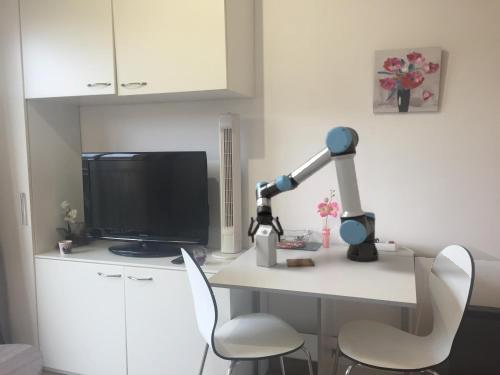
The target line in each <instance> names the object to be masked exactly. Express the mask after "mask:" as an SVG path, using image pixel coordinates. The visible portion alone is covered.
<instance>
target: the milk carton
mask: <svg viewBox="0 0 500 375" xmlns="http://www.w3.org/2000/svg"><path fill="white" fill-rule="evenodd" d="M255 235H256V250H255V261H256V262H255V264H256V266H260V267H265V268H271V267H272V266H275V265H276V264H277V263H278V260H277V259H278V258H277V257H278V256H277V254H278V253H277V250H278V249H277V244H276V232H275V231H274V230H273V229H272V226H269V225H268V226H267V225H260V227H259V229H258V231H257V233H256V234H255Z"/></svg>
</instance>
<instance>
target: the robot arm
mask: <svg viewBox="0 0 500 375" xmlns="http://www.w3.org/2000/svg"><path fill="white" fill-rule="evenodd" d="M359 141H360V137H359V134H358V132H357V131H356V129H354V128H352V127H349V126H336V127H333V128H331V129H330V130H329V131H328V132H327V133H326V135H325V139H324V142H325V143H324V144H325V147H324V148H322V149H321V150H319V152H317V153H315V155H313V156H312V157H310V158H309V159H307V160H306V161H304V163H302V164H301V165H299V166H298V167H297V168H296V169H294V170H293V171H292V172H290V173H289V174H287V175H286V174H283V175H280V176H278V177H277V178H275V179H273V180H271V181H270V182H267V181H260V182H258V183H257V184H256V185H255V199H256V201H255V204H256V207H255V208H256V217H253V216H251V217H250V224H249V228H248V230H247V236H248V237H251V243H253V246H254V247H253V248H254V250H255V251H256V233H257V231H258V229H259V227H260V225H267V226H272V229H273V230H274V231H275V232H276V249H277V250H279V248H280V245H279V244H280V242H281V236H284V228H283V227H282V224H281V222H280V220H279V219H280V218H279V216H278V215H277V216H276V217H274V216H273V212H272V211H273V209H272V198H275V197H277V195H279V194H281V193H286V192H289V191H290V192H291V191H293V190H295V189H297V188H298V187H299V186H300V184H302V183H303V182H305V181H306V180H307V179H309V178H311V177H312V176H313V175H315V174H316V173H317V172H319V171H320V170H321V169H323V168H324V167H326V166H327V165H329V164H330V163H332V162H333V161H334V166H335V171H336V178H337V179H336V180H337V184H338V191H339V197H340V203H341V211H342V212H341V213H340V214H339V217H340V226H339V228H338V229H339V230H338V233H339V236H340V238H341V239H342V240H343V241H344V242H345V243H346V244H349V245H348V248H347V251H346V258H347V259H349V260H351V261H354V262H365V263H366V262H368V263H370V262H374V261H377V260H379V252H378V248H377V245H376V215H375V213H374V212H371V211H365V210H363V209H362V205H361V199H360V198H361V196H360V190H359V186H358V185H359V184H358V179H357V172H356V165H355V157H356V155H357V150H356V148H357V146H358V145H359ZM255 222H257V224H256V225H255V226H254V223H255ZM273 222H274V223H275V224H276V226H275V225H274V223H273ZM253 227H254V229H253Z"/></svg>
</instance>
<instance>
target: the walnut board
mask: <svg viewBox="0 0 500 375" xmlns="http://www.w3.org/2000/svg"><path fill="white" fill-rule="evenodd" d="M285 262H286V263H287V264H286V265H287V266H288V268H302V267H303V268H304V267H307V268H308V267H315V263H314V261H313V260H312V257H311V258H310V257H309V258H286V261H285Z"/></svg>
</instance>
